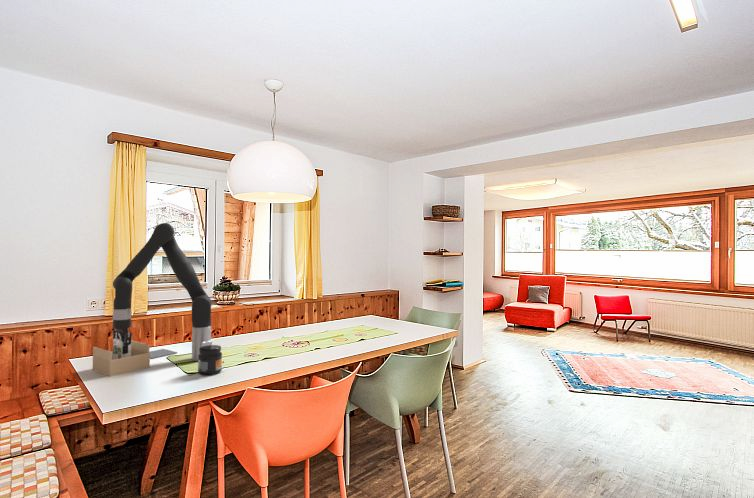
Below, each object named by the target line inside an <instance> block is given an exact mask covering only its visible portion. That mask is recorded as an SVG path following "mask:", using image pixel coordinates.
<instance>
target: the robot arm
mask: <svg viewBox="0 0 754 498" xmlns="http://www.w3.org/2000/svg"><path fill="white" fill-rule="evenodd" d="M160 249H162V251H163V252H164V254H165V256H166V258H167V261H168V263H169V265H170V267H171V270H172V271H173V273H174V275H175V277H176V279H177V280H178V282H179V283H180V284H181V285H182V287H183V288H184V289H185V291H187V293H188V295H189V297H190V300H191V302H192V303H191V360H192V361H195V362H196V361H197V362H198V355H199V348H200V347H202V346H207V345H213V341H212V300H211V298H210V296H209V295H208V294H207V292H206V291H205V290H204V288H203V286H202V284H201V282H200V280H199V277H198V275H197V272H196V270H195V268H194V266H193V264H192V262H191V261H190V259H189V258H188V257H187V256H186V254H185V253H184V252H183V250H182V249H181V248H180V246H179V244H178V243H177V240H176V238H175V229H174V227H173V226H172V225H171V224H170V223H167V222H163V223H159V224H157V225H156V226H155V227H154V230H153V232H152V235H151V236H150V238H149V239H148V241H147V242H146V243H145V245H143V246H142V248H141V249H140V250H139V252H138V253H136V254H135V256H134V257H133V258H132V259H131V261H130V262H129V263H128V264H127V265H126V267H125V268H124V269H123V270H122V271H121V272H120V273H118V275H117V276H116V278H114V279H113V281H112V287H113V289H114V298H113V311H112V312H113V313H112V328H113V330H112V340H113V339H117V338H119V339H120V340H121V341H122V353H123V354H127V353H128V345H131V340H132V336H133V335H132V332H129V329H130V328H131V327H132V310H131V309H132V308H131V306H132V301H131V297H132V292H133V291H132V290H133V282H134V280H135V279H136V278H137V277H139V276H140V275H141V274H142V272H143V271H144V270H145V269H146V268H147V267H148V265H149V263H151V261H152V260H153V258H154V257H155V255H156V254H157V253H158V251H159V250H160ZM123 339H124V340H123ZM128 340H129V342H128Z"/></svg>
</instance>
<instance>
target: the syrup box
mask: <svg viewBox="0 0 754 498" xmlns="http://www.w3.org/2000/svg"><path fill="white" fill-rule="evenodd" d="M123 340H124V339H123ZM128 342H129V340H128ZM112 351H113V360H115V359H120V358H125V357H130V356H131V345H128V353H127V354H123V353H122V341H121V340H120V339H119V338H117V339H113V338H112Z"/></svg>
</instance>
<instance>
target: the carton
mask: <svg viewBox="0 0 754 498" xmlns="http://www.w3.org/2000/svg"><path fill="white" fill-rule="evenodd" d="M92 351H93V352H92V371H94V370H95V372H97V373H101V374H103V375H105V376H108V377H113V376H116V375H122V374H125V373H129V372H135V371H137V370H138V371H139V370H142V369H146V368H150V364H151V363H150V362H151V361H150V360H151V359H150V353H149V352H150V344H147V343H144V342H140V341H136V340H133V339H131V356H130V357H125V358H120V359H115V360H113V350H112V351H111V350H108V349H107V350H106V349H104V348H100V347H97V346H92Z"/></svg>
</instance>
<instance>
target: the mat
mask: <svg viewBox="0 0 754 498" xmlns="http://www.w3.org/2000/svg"><path fill="white" fill-rule="evenodd" d="M149 353H150V360H151V359H152V360H153V359H157V358H162V357H167V356H172V355H176V353H177V354H178V351H173V350H169V349H167V348H166V349H165V348H160V349H157V350H156V349H155V350H151V351H150V350H149ZM171 354H172V355H171Z"/></svg>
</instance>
